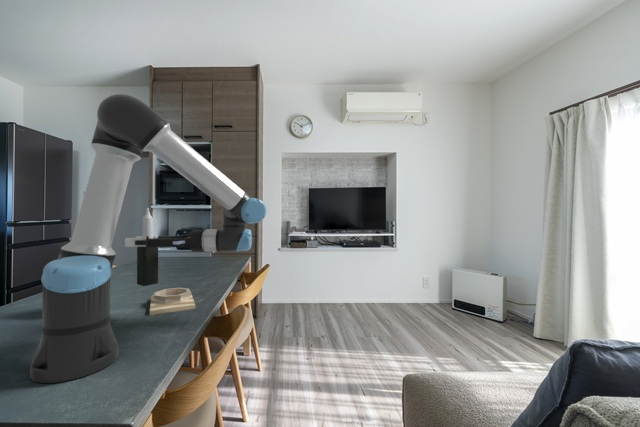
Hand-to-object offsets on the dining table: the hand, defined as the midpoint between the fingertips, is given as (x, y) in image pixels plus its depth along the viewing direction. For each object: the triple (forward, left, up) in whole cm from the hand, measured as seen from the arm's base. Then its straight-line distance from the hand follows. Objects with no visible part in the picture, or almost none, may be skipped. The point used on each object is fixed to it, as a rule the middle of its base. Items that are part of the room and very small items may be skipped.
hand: (131, 241), depth 96 cm
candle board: (+8, -13, -25) cm, 29 cm away
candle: (-2, -5, -14) cm, 15 cm away
